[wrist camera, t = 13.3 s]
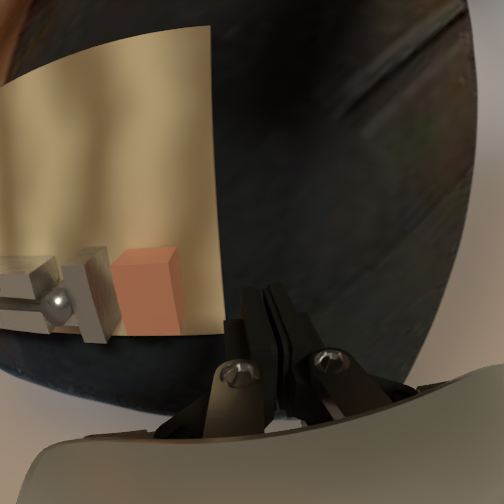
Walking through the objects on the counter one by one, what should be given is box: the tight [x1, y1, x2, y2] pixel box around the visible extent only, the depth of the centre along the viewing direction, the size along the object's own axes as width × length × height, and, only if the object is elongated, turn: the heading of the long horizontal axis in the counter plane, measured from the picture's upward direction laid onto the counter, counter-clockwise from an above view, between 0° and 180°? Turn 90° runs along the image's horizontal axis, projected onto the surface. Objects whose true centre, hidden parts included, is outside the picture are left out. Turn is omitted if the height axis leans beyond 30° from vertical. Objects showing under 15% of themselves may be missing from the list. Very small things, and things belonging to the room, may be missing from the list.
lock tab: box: [110, 246, 186, 336], centre depth 14 cm, size 3×4×2 cm
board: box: [0, 26, 226, 336], centre depth 14 cm, size 30×18×1 cm, turn 92°
